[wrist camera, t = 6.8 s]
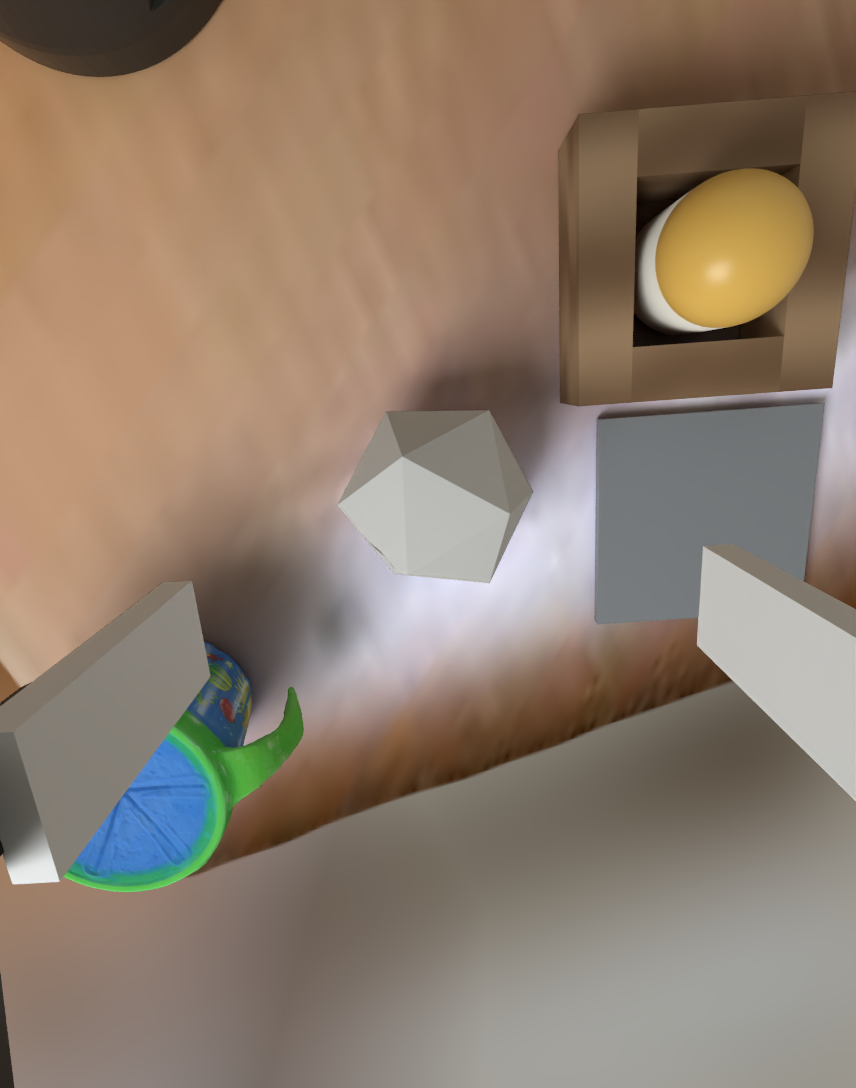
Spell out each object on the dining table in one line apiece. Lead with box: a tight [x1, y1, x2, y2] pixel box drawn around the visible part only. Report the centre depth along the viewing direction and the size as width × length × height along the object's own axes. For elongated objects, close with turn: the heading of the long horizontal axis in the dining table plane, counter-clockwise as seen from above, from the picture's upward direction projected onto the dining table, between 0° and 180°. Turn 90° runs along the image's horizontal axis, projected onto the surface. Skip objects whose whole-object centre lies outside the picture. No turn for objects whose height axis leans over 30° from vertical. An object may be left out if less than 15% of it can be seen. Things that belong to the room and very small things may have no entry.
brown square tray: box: [558, 91, 856, 406], centre depth 28 cm, size 12×12×4 cm
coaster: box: [595, 403, 825, 624], centre depth 33 cm, size 12×12×1 cm
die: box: [338, 410, 533, 583], centre depth 29 cm, size 8×9×10 cm
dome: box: [634, 168, 814, 335], centre depth 25 cm, size 6×6×7 cm
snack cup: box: [64, 642, 304, 892], centre depth 31 cm, size 16×10×10 cm
